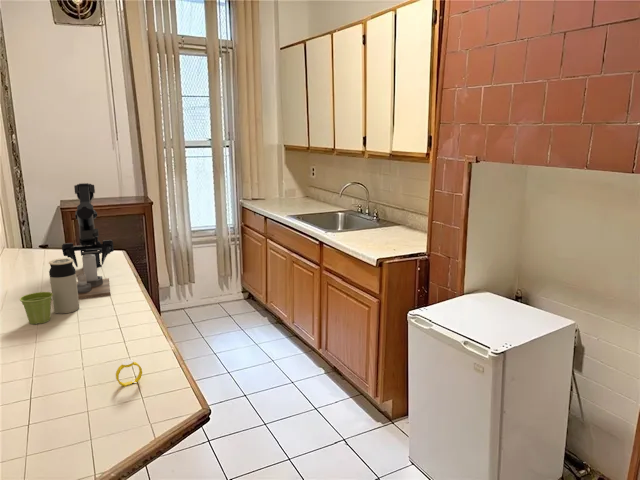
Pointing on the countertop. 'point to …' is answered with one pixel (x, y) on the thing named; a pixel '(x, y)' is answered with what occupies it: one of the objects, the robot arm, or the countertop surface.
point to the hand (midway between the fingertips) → (89, 265)
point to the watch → (127, 364)
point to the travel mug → (63, 286)
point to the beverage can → (90, 267)
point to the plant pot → (37, 306)
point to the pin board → (92, 287)
